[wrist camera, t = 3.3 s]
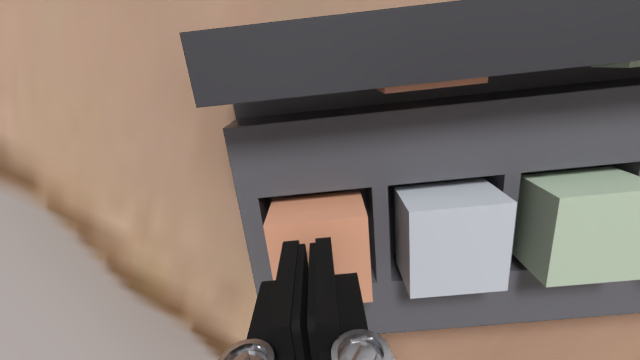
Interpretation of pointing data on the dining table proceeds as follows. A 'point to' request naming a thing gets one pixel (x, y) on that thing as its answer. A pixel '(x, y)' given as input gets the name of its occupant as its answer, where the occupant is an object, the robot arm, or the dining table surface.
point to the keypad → (428, 125)
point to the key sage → (579, 226)
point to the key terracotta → (323, 231)
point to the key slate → (453, 237)
